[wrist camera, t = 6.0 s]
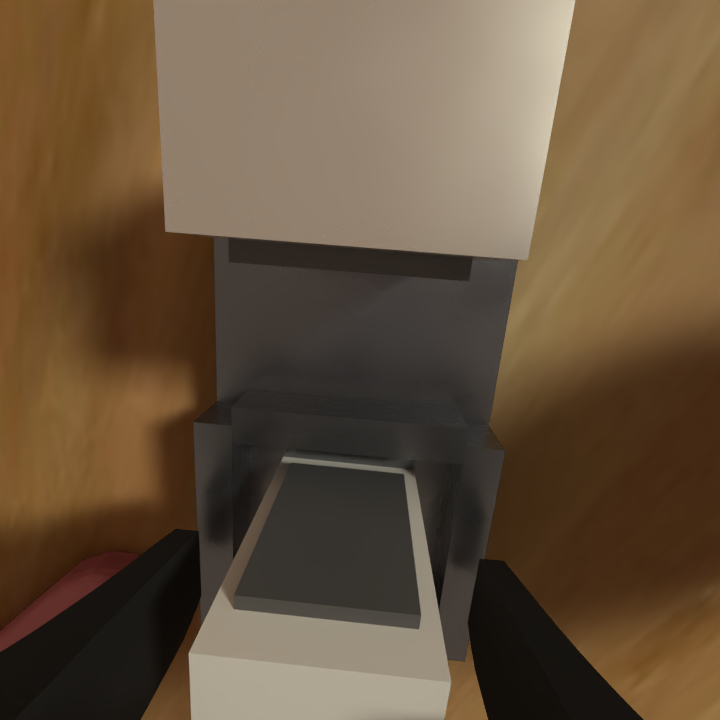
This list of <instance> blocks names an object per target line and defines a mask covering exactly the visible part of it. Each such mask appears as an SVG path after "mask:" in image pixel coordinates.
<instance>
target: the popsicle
mask: <svg viewBox="0 0 720 720" xmlns="http://www.w3.org/2000/svg"><path fill="white" fill-rule="evenodd" d="M139 556H140V554H135V553H126V552H117V551H109V552H106V553H103V554H100V555H97V556H93V557H90V558H87V559H84V560H83V561H81V562H80V563H79V564H78V565H77V566H75V567H74V568H73V569H72V570H71V571H69V572H68V573H67V574H66V575H65V576H64V577H62V578H61V579H60V580H59V581H58V582H56V583H55V584H54V585H53V586H52V587H50V588H49V589H48V590H47V591H46V592H45V593H43V594H42V595H41V596H40V597H39V598H37V599H36V600H35V601H34V602H33V603H32V604H30V605H29V606H28V607H27V608H26V609H24V610H23V611H22V612H21V613H20V614H18V615H17V616H16V617H15V618H14V619H13V620H12V621H11V622H10V623H8V624H7V625H6V626H5V627H4V628H3V629H2V630H1V631H0V652H1V651H3V650H4V649H6V648H8V647H9V646H11V645H12V644H14V643H16V642H17V641H19V640H20V639H22V638H23V637H25V636H27V635H28V634H30V633H31V632H33V631H34V630H36V629H37V628H39V627H40V626H42V625H43V624H45V623H46V622H48V621H49V620H51V619H52V618H54V617H55V616H57V615H58V614H59V613H61V612H62V611H64V610H65V609H67V608H68V607H70V606H71V605H73V604H74V603H76V602H77V601H78V600H80V599H81V598H83V597H84V596H86V595H87V594H89V593H90V592H92V591H93V590H94V589H96V588H97V587H98V586H100V585H101V584H103V583H104V582H105V581H107V580H108V579H109V578H111V577H112V576H113V575H115V574H116V573H118V572H119V571H120V570H122V569H123V568H124V567H126V566H127V565H128V564H130V563H131V562H132V561H134V560H135V559H136V558H138V557H139Z"/></svg>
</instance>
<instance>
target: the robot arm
mask: <svg viewBox="0 0 720 720" xmlns="http://www.w3.org/2000/svg"><path fill="white" fill-rule="evenodd" d="M200 598H201V571H200V544H199V531H191V530H181V529H175V530H174V531H172V532H171V533H170V534H168V535H167V536H166V537H164V538H163V539H161V540H160V541H159V542H157V543H156V544H155V545H154V546H152V547H151V548H150V549H148V550H147V551H146V552H144V553H143V554H142V555H140V556H139V557H138V558H136V559H135V560H134V561H132V562H131V563H130V564H128V565H127V566H126V567H124V568H123V569H122V570H120V571H119V572H118V573H116V574H115V575H113V576H112V577H111V578H109V579H108V580H107V581H105V582H104V583H103V584H101V585H100V586H98V587H97V588H96V589H94V590H93V591H92V592H90V593H89V594H87V595H86V596H84V597H83V598H81V599H80V600H78V601H77V602H76V603H74V604H73V605H71V606H70V607H68V608H67V609H65V610H64V611H62V612H61V613H59V614H58V615H57V616H55V617H54V618H52V619H51V620H49V621H48V622H46V623H45V624H43V625H42V626H40V627H39V628H37V629H36V630H34V631H33V632H31V633H30V634H28V635H27V636H25V637H23V638H22V639H20V640H19V641H17V642H16V643H14V644H12V645H11V646H9V647H8V648H6V649H4V650H3V651H1V652H0V720H141V718H142V716H143V714H144V712H145V710H146V709H147V707H148V705H149V703H150V701H151V699H152V698H153V696H154V694H155V692H156V690H157V688H158V686H159V685H160V683H161V681H162V679H163V677H164V675H165V673H166V672H167V670H168V668H169V666H170V664H171V662H172V660H173V658H174V657H175V655H176V653H177V651H178V649H179V647H180V645H181V643H182V641H183V639H184V637H185V634H186V632H187V630H188V627H189V625H190V623H191V620H192V618H193V615H194V613H195V610H196V608H197V605H198V603H199V600H200ZM468 629H469V636H470V642H471V648H472V654H473V660H474V665H475V671H476V675H477V679H478V683H479V687H480V690H481V694H482V698H483V702H484V705H485V709H486V713H487V717H488V720H643V719H642V718H641V717H640V716H639V715H638V714H637V713H636V712H635V711H634V710H633V709H632V708H631V707H630V706H629V705H628V704H627V702H626V701H625V700H624V699H623V698H622V697H621V696H620V695H619V694H618V693H617V692H616V691H615V690H614V689H613V688H612V687H611V686H610V685H609V684H608V682H607V681H606V680H605V679H604V678H603V677H602V676H601V675H600V674H599V673H598V672H597V671H596V670H595V669H594V667H593V666H592V665H591V664H590V663H589V662H588V661H587V660H586V659H585V658H584V656H583V655H582V654H581V653H580V652H579V651H578V650H577V649H576V647H575V646H574V645H573V644H572V643H571V642H570V640H569V639H568V638H567V637H566V636H565V635H564V633H563V632H562V631H561V630H560V629H559V628H558V627H557V625H556V624H555V623H554V622H553V621H552V619H551V618H550V617H549V616H548V615H547V613H546V612H545V611H544V610H543V609H542V607H541V606H540V605H539V604H538V602H537V601H536V600H535V599H534V598H533V596H532V595H531V594H530V593H529V591H528V590H527V589H526V588H525V586H524V585H523V584H522V583H521V582H520V580H519V579H518V578H517V577H516V575H515V574H514V573H513V572H512V570H511V569H510V568H509V567H508V566H507V564H506V563H505V562H504V561H497V560H487V559H479V565H478V570H477V575H476V580H475V586H474V591H473V596H472V601H471V607H470V612H469V617H468Z"/></svg>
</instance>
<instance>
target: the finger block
mask: <svg viewBox="0 0 720 720" xmlns="http://www.w3.org/2000/svg"><path fill="white" fill-rule="evenodd" d="M189 674H190V698H191V720H444V717H445V712H446V707H447V702H448V697H449V692H450V686H451V678H450V672H449V666H448V661H447V655H446V649H445V644H444V638H443V632H442V626H441V621H440V615H439V609H438V603H437V598H436V592H435V586H434V580H433V575H432V569H431V563H430V557H429V552H428V546H427V540H426V534H425V529H424V523H423V517H422V512H421V506H420V500H419V494H418V489H417V483H416V477H415V471H414V470H413V469H403V468H393V467H383V466H373V465H363V464H353V463H343V462H333V461H323V460H313V459H303V458H292V457H283V458H282V460H281V463H280V465H279V467H278V469H277V471H276V473H275V475H274V477H273V479H272V481H271V483H270V485H269V487H268V490H267V492H266V494H265V496H264V498H263V500H262V502H261V504H260V506H259V508H258V510H257V512H256V514H255V516H254V519H253V521H252V523H251V525H250V527H249V529H248V531H247V533H246V535H245V537H244V539H243V541H242V543H241V546H240V548H239V550H238V552H237V554H236V556H235V558H234V560H233V562H232V564H231V566H230V568H229V570H228V572H227V575H226V577H225V579H224V581H223V583H222V585H221V587H220V589H219V591H218V593H217V595H216V597H215V599H214V601H213V604H212V606H211V608H210V610H209V612H208V614H207V616H206V618H205V620H204V622H203V624H202V626H201V628H200V631H199V633H198V635H197V637H196V639H195V641H194V643H193V645H192V647H191V649H190V651H189Z"/></svg>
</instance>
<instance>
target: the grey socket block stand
mask: <svg viewBox="0 0 720 720" xmlns="http://www.w3.org/2000/svg"><path fill="white" fill-rule="evenodd" d="M153 2H154V22H155V41H156V60H157V79H158V99H159V118H160V137H161V156H162V175H163V195H164V214H165V232H171V233H178V234H185V235H193V236H200V237H207V238H214V282H215V329H216V376H217V402H216V403H215V404H213V405H212V406H211V407H210V408H209V409H208V410H207V411H205V412H204V413H203V414H202V415H201V416H200V417H199V418H197V419H196V420H195V421H194V422H193V430H194V456H195V482H196V507H197V531H199V544H200V571H201V598H200V610H201V626H202V624H203V622H204V620H205V618H206V616H207V614H208V612H209V610H210V608H211V606H212V604H213V601H214V599H215V597H216V595H217V593H218V591H219V589H220V587H221V585H222V583H223V581H224V579H225V577H226V575H227V572H228V570H229V568H230V566H231V564H232V562H233V560H234V558H235V556H236V554H237V552H238V550H239V548H240V546H241V543H242V541H243V539H244V537H245V535H246V533H247V531H248V529H249V527H250V525H251V523H252V521H253V519H254V516H255V514H256V512H257V510H258V508H259V506H260V504H261V502H262V500H263V498H264V496H265V494H266V492H267V490H268V487H269V485H270V483H271V481H272V479H273V477H274V475H275V473H276V471H277V469H278V467H279V465H280V463H281V460H282V458H283V457H292V458H303V459H313V460H323V461H333V462H343V463H353V464H363V465H373V466H383V467H393V468H403V469H413V470H414V471H415V477H416V483H417V489H418V494H419V500H420V506H421V512H422V517H423V523H424V529H425V534H426V540H427V546H428V552H429V557H430V563H431V569H432V575H433V580H434V586H435V592H436V598H437V603H438V609H439V615H440V621H441V626H442V632H443V638H444V644H445V649H446V655H447V660H455V661H465V657H466V652H467V647H468V642H469V637H470V636H469V629H468V617H469V612H470V607H471V601H472V596H473V591H474V586H475V580H476V575H477V570H478V565H479V559H485V554H486V549H487V544H488V538H489V533H490V528H491V523H492V518H493V513H494V507H495V502H496V497H497V492H498V487H499V482H500V476H501V471H502V466H503V461H504V456H505V449H504V448H503V446H502V445H501V443H500V442H499V440H498V439H497V437H496V436H495V434H494V433H493V431H492V430H491V428H490V427H489V421H490V416H491V410H492V404H493V399H494V393H495V387H496V382H497V376H498V370H499V365H500V359H501V354H502V348H503V342H504V337H505V331H506V325H507V320H508V314H509V309H510V303H511V297H512V292H513V286H514V280H515V275H516V269H517V264H518V260H528V255H529V250H530V244H531V239H532V233H533V228H534V223H535V217H536V212H537V206H538V201H539V195H540V190H541V184H542V179H543V174H544V168H545V163H546V157H547V152H548V146H549V141H550V136H551V130H552V125H553V119H554V114H555V108H556V103H557V97H558V92H559V87H560V81H561V76H562V70H563V65H564V59H565V54H566V48H567V43H568V38H569V32H570V27H571V21H572V16H573V10H574V5H575V0H153Z"/></svg>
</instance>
